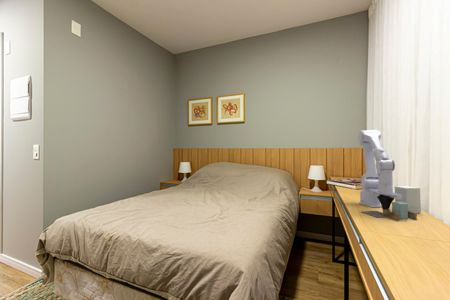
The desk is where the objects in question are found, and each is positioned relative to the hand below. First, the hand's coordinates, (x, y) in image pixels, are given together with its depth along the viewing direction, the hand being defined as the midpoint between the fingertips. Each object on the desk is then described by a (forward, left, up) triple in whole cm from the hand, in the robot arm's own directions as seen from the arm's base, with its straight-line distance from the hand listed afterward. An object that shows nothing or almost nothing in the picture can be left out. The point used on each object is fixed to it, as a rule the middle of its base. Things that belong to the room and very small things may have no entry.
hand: (385, 210), depth 103 cm
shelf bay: (+7, 0, -2) cm, 7 cm away
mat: (0, -6, -2) cm, 6 cm away
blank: (+7, 0, -2) cm, 7 cm away
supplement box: (-2, +15, -2) cm, 15 cm away
